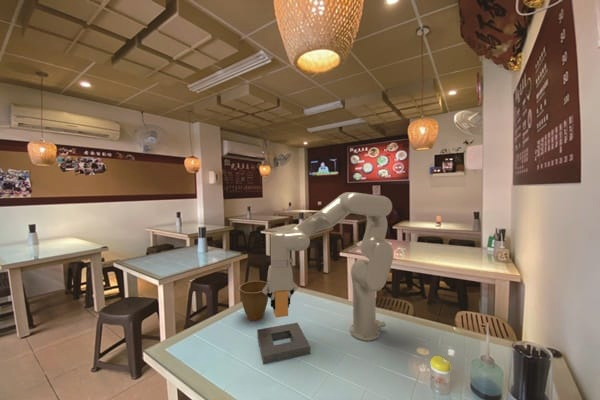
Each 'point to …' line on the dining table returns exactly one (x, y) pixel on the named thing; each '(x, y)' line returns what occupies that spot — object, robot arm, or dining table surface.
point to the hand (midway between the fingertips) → (280, 306)
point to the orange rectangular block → (281, 304)
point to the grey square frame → (285, 350)
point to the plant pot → (254, 299)
